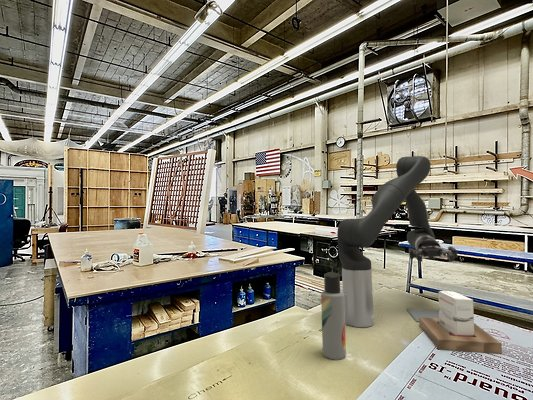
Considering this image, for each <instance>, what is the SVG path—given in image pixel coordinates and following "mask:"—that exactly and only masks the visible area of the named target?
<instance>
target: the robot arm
mask: <svg viewBox="0 0 533 400" xmlns="http://www.w3.org/2000/svg"><path fill="white" fill-rule="evenodd" d="M395 167H396V169H395V170H396V176H397V177H395V178H392V179H390V180H388V181H386V182H385V183H383V184H382V185H381V186H380V187H379V188H378V189H377V190H376V191H375V192H374V194H373V195H372V199H371V206H372V207H371V208H372V209H371V210H370V212H368V214H367V215H365V216H364V217H362V218H344V219H343V220H341V221H340V223H339V224H338V226H337V232H336V233H337V235H336V236H337V246H338V247H337V248H338V258H339V261H340V263H341V278H342V279H341V281H342V285H341V286H342V289H341V292H343V293H344V305H345V326H346V325H348V326H351V327H356V328H369V327H372V326H374V324H375V322H374V320H375V319H374V296H373V294H374V293H373V274H372V271H373V269H372V261H371V260H370V258H369V257H367V256H365V255H364V254H363V253H362V252H361V250H360V249H361V248H362V249H363V248H365V249H366V248H369V247H370V246H372V245H373V244H374V242H375V241H376V239H378V237H379V235H380V233H381V232H382V230H383V229H384V226H385V225H386V223H388V221H389V220H390V218H391V217H392V216H393V214H394V213H395V212H396V211H397V210H398V209H399V207H400V206H401V205H402V204H403V203H404V201H405V204H406V209H407V217H408V222H409V225H410V226H411V227H413V228H419V229H412V230H410V231H408V232H407V234H406V241H407V243H408V244H409V246H411V247H409V248H408V253H409V254H408V255H409V260H410V259H411V260H413V259H414V258H415V260H417V261H419V262H420V263H422V262H423V260H424V259H425V260H428V261H429V260H435V259H437V258H440V259H447V260H448V261H449V262H453V261H454V260H455V259H457V258H459V257H458V249H456V248H455V247H453V246H448V247H447V248H445V247H442V246H441V245H440V243H439V242H438V241H437V240H436V236H435V234H434V231H433V229H432V228H431V226H430V223H429V218H428V209H427V205H426V204H425V202H424V199H422V197H421V196H420V195H419V194H418V193H417V191H416V190H415V189H416V187H418V186H419V185H420V184H421V183H422V182H423V181H424V180H426V179H427V177H428V176H429V173H430V171H431V167H432V165H431V161H430V159H429V158H428V157H425V156H422V155H415V156H402V157H400V158H399V159H398V161H397V162H396V165H395Z"/></svg>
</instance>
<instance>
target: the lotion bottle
mask: <svg viewBox="0 0 533 400" xmlns="http://www.w3.org/2000/svg"><path fill="white" fill-rule="evenodd" d="M323 274H324V275H323V278H324V279H323V280H324V282H323V283H324V290H322V291H321V292H320V293H321V294H320V305H321V307H320V308H321V337H322V353H323V356H324V357H325V358H328V359H329V360H342V359H345V358H346V356H347V338H346V337H347V336H346V325H345V305H344V293H343V292H342V290H341V280H340V279H341V278H340V277H341V276H340V274H339V273H337V272H334V271H329V272H326V273H323Z"/></svg>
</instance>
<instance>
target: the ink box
mask: <svg viewBox="0 0 533 400" xmlns="http://www.w3.org/2000/svg"><path fill="white" fill-rule="evenodd" d="M438 310H439V325H440V326H441V327H442V328H443V329H444V330H445V331H446V332H447V333H448V334H449V335H450V336H464V337H474V323H475V321H474V320H475V318H474V317H475V316H474V312H475V311H474V300H473V298H470V297H467V296H466V295H462V294H460V293H458V292H456V291H451V290H450V291H448V290H441V291H438Z"/></svg>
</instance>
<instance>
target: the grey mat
mask: <svg viewBox="0 0 533 400" xmlns="http://www.w3.org/2000/svg"><path fill="white" fill-rule="evenodd" d="M405 311H407V312H408V314H409V315H410V316H411V317H412V319H413V320H414V321H415V322H416V323H419V317H421V318H439V309H422V308H421V309H420V308H406V310H405Z"/></svg>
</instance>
